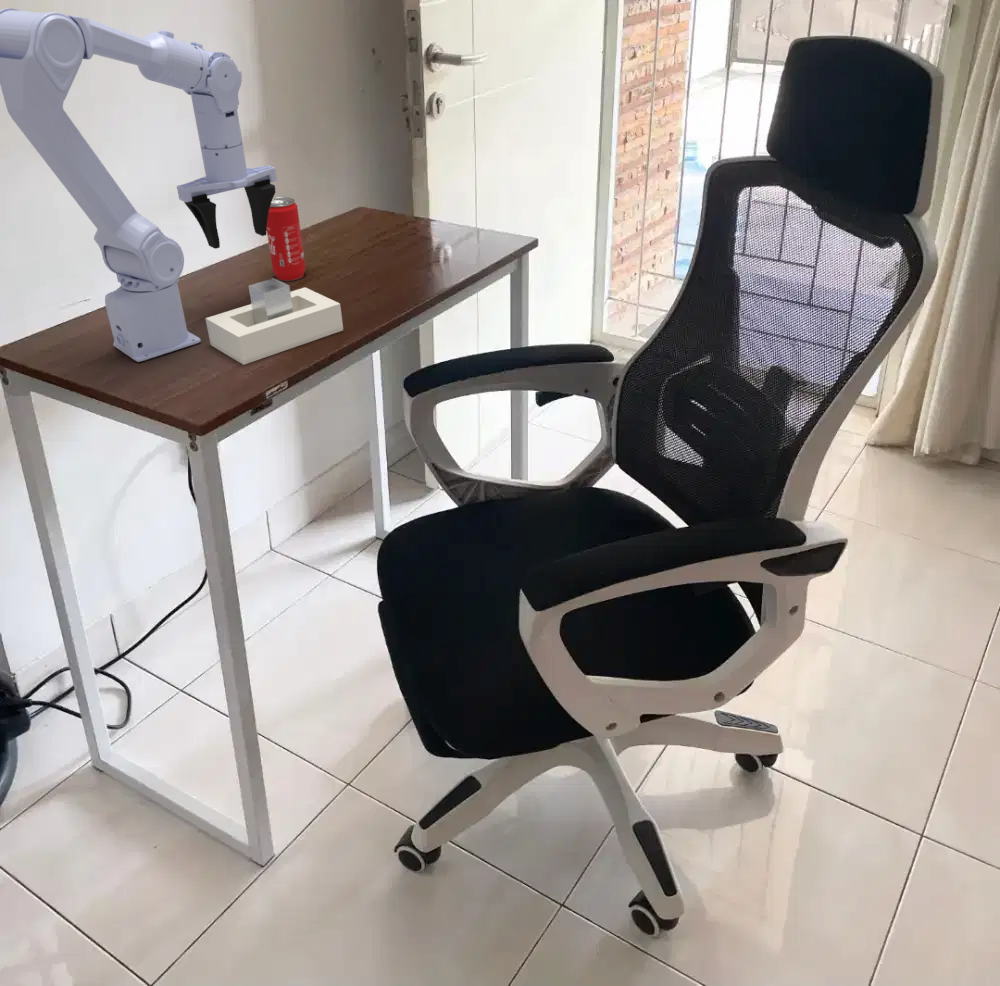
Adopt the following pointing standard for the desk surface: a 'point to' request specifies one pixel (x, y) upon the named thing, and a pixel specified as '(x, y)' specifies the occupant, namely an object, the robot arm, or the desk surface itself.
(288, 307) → the grey rectangular block
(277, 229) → the beverage can
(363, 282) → the desk surface
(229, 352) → the cream rectangular tray
